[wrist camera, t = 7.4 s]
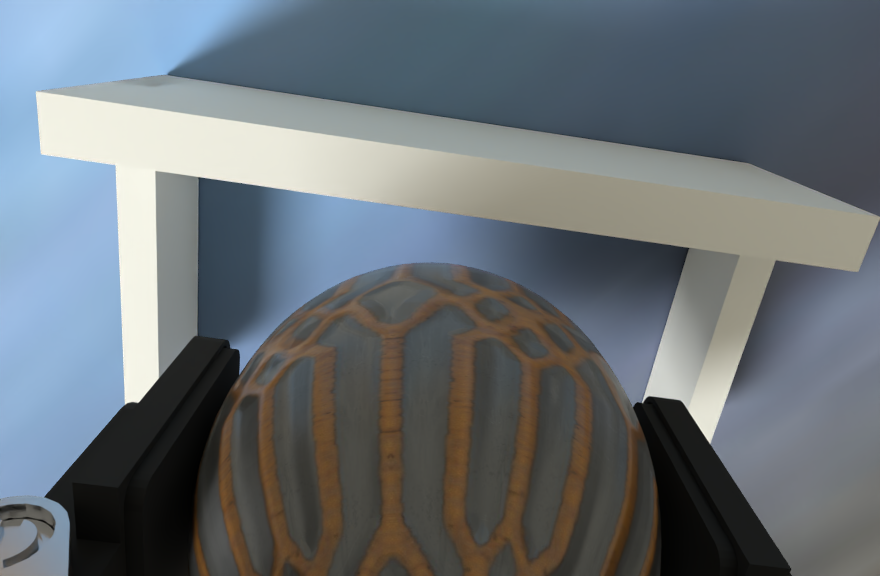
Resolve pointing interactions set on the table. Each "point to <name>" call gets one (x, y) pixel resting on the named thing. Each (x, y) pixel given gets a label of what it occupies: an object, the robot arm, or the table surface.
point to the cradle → (439, 204)
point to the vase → (426, 441)
